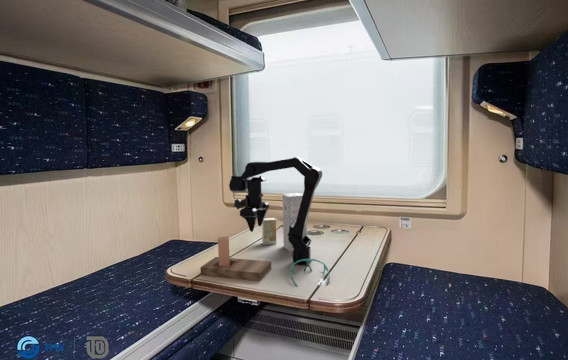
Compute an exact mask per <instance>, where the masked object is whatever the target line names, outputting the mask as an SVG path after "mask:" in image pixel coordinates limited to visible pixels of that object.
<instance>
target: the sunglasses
mask: <svg viewBox="0 0 568 360" xmlns="http://www.w3.org/2000/svg"><path fill="white" fill-rule="evenodd" d="M309 260H312V261H311V262H313V261H314V262H318V263H320V264H322V265H323V271H320V273H322V274H324V273H325V271H327V272H328V277H327V282H326V285H325V287H326V286H328V284H329V281H330V274H331V273H330V271H329V268H328V266H327V265H326V264H325V263H324V262H322V261H320V259H319V260H318V259H315V258H311V259H302V260H299V261H300V262H301V261H308V265H305V267H304V269H303V272H306V270H307V267H308V269H310V272H313V270H312V268H311V265H310V264H309ZM299 261H297V262H299ZM297 262H295V263H293V262H292V264H291V266H290V269H289V270H290V271H289V272H290V273H289V274H290V279H291V280H292V282H293V284H294V285H295V286H296V287H299V286H298V285H297V283H296V281H295V280H294V278H293V276H292V275H296V274H298V272H294V265H297V264H296V263H297Z"/></svg>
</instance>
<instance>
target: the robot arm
mask: <svg viewBox="0 0 568 360" xmlns="http://www.w3.org/2000/svg"><path fill="white" fill-rule="evenodd" d="M291 168H294V169H296V170H297V172H298V173H300V175H302V176H303V178H304V179H303V193H302V194H303V197H302V201H301V204H300V208H299V212H298V216H297V220H296V223H293V224H292V225H291V226H290V228H289V233H288V235H287V236H289V237H288V240H289V242H290V243H291V244H292V246H293V249H294V251H292V264H293V263H295V262H297V261H299V260H302V259H312V257H311V246H310V245H311V243H312V240H311V238H309V236H308V234H307V235H306V222H307V220H308V217H309V214H310V210H311V206H312V202H313V200H314V199H313V198H314V195H315V191H316V189H317V187H318V185H319V184H320V182H321V180H322V177H323V171H322V170H321V169H320V168H319V167H317V166H313V165H312V164H310V163H308V162H307V161H305V160H304V159H302V157H300V156H294V157H292V158H286V159H280V160H274V161H252V162H248V163H246V165H245V168H244V172H243V173H242V174H241V175H231V176H230V181H229V183H228V184H229V185H228V186H229V190H230V192H234V193H235V192H236V193H237V192H239V193H241V192H242V193H245V192H246V191H247V194H245V198H243V199H240V198H238V199H234V205H233V207H235V208H236V210H239V216H240V217H241V218H243V219H244V220H245V222H246V223H247V226H248V228H249V232H251V233H252V232H254V230H255V226H256V223H257V226H258V227H262V222H263V220H264V218H266V215H267V213H268V211H269V209H270V203H269V202H268V201H262V200H263V199H262V198H263V197H264V193H262V182H266V181H267V179H266V178H265V177H264V176H263V175H262V174H265V173H267V172H271V171H278V170H284V169H291ZM258 176H259V177H258ZM249 178H251V179H249ZM311 262H313V261H312V260H309V265H310V264H311ZM295 265H299V266H300V265H301V266H306V265H308V261H301V262H300V261H299V262H297V263H296V264H295Z"/></svg>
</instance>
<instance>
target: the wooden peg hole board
mask: <svg viewBox="0 0 568 360" xmlns="http://www.w3.org/2000/svg"><path fill="white" fill-rule="evenodd" d="M199 268H200V269H199V270H200V276H208V277H216V278H217V277H219V278H228V279H230V278H231V279H235V280H237V279H238V280H246V281H257V282H261V281H262V280H263V279H264V278H265V277H266V275H267V274H268V273H269V272H270V271H271V270H272V261H270V260H269V261H268V260H256V259H245V258H244V259H243V258H234V257H233V258H231V257H230V267H221V266H219V256H215V257H214V258H212V259H210V260H209V261H208V262H205V264H203V265H201V266H200V267H199Z"/></svg>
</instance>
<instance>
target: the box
mask: <svg viewBox="0 0 568 360" xmlns="http://www.w3.org/2000/svg"><path fill="white" fill-rule="evenodd" d="M281 195H282V229H283V231H282V233H283V247H284V248H285V249H286V250H287V251H288V252H290V253H291V252H293V251H294V249H293V246H292V244H291V243H290V242H289V240H288V237H289V236H287V235H288V233H289V228H290V226H291V225H292V224H293V223H296V220H297V216H298V212H299V208H300V204H301V201H302V197H303V193H301V192H294V193H293V192H292V193H282V194H281ZM307 227H308V226H307V222H306V235H307V236H308V234H307V233H308V231H307V229H308V228H307Z"/></svg>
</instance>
